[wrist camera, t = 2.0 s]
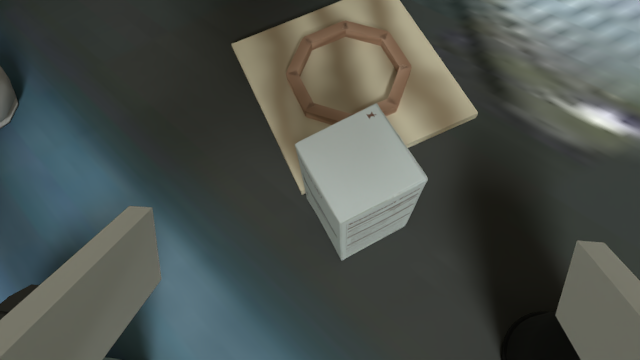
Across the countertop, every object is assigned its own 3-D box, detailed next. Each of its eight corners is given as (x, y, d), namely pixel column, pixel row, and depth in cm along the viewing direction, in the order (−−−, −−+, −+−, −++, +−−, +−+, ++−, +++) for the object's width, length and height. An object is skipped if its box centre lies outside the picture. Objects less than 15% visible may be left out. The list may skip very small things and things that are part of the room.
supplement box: (305, 198, 45) (290, 140, 33) (370, 166, 46) (378, 98, 34) (340, 263, 42) (338, 225, 30) (408, 228, 43) (431, 177, 31)
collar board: (386, -11, 54) (388, -26, 52) (475, 117, 47) (481, 106, 45) (233, 49, 52) (228, 37, 50) (302, 194, 45) (300, 186, 43)
